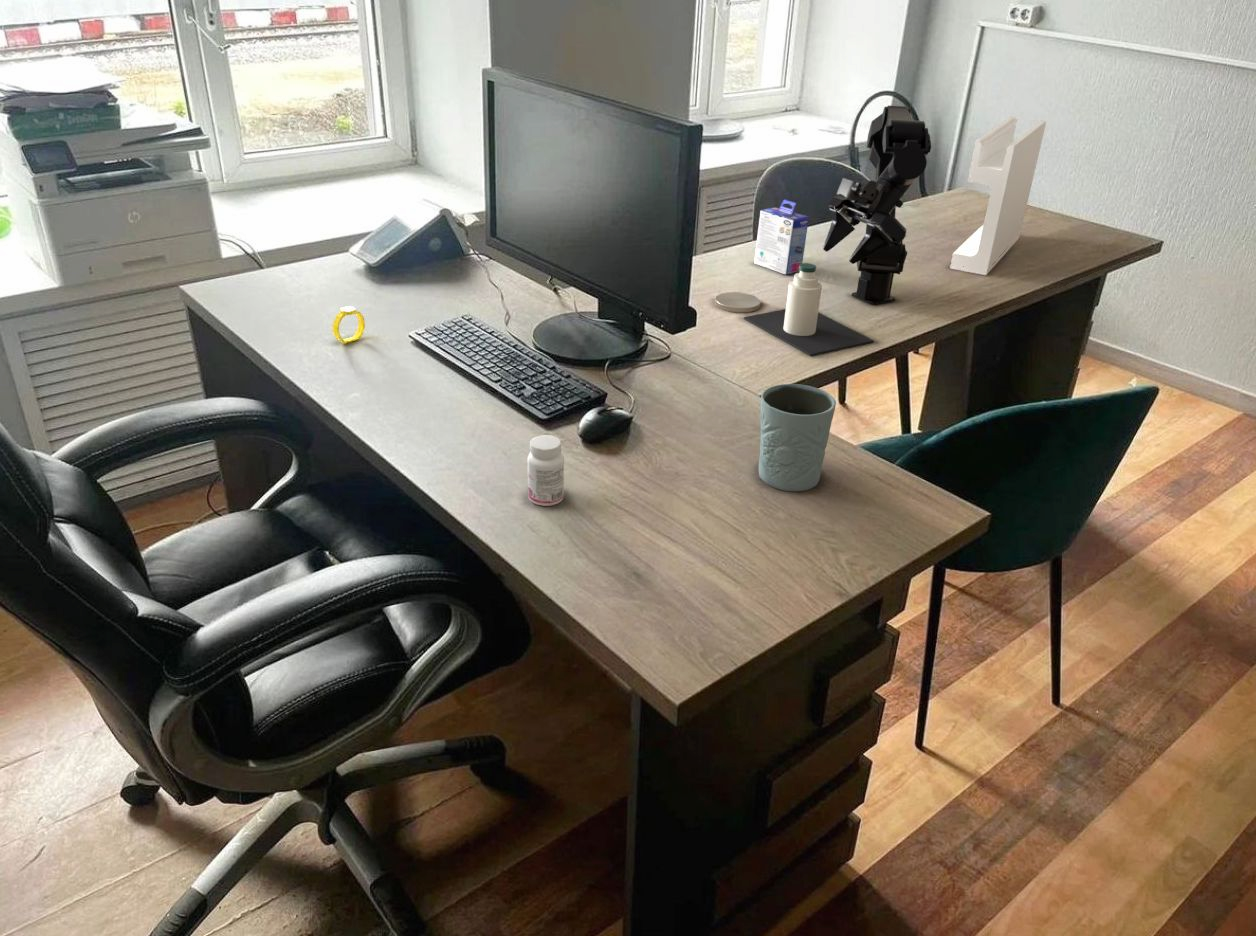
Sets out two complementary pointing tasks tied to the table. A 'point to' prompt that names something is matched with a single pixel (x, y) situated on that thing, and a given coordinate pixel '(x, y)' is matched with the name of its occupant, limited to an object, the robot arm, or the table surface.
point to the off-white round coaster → (737, 302)
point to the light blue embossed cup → (794, 435)
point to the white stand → (1000, 193)
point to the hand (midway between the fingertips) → (837, 256)
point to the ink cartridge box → (781, 239)
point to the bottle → (803, 302)
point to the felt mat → (822, 341)
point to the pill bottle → (545, 471)
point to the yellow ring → (338, 318)
